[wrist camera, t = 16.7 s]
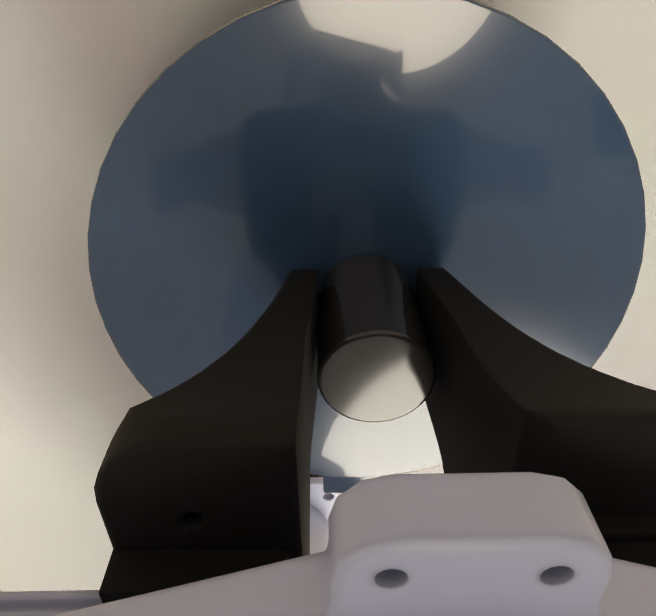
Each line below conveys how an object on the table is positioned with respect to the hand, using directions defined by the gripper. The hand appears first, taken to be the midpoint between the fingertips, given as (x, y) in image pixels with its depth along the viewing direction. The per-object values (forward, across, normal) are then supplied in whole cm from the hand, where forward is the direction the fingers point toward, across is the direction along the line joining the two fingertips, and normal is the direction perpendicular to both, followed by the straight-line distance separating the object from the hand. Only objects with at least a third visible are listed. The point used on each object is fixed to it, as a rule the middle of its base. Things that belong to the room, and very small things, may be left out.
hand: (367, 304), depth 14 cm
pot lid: (+1, 0, 0) cm, 1 cm away
